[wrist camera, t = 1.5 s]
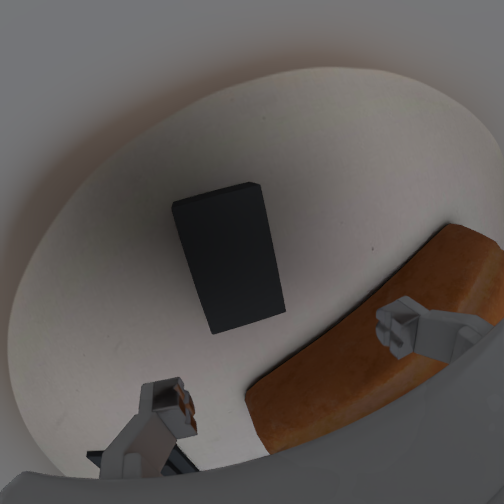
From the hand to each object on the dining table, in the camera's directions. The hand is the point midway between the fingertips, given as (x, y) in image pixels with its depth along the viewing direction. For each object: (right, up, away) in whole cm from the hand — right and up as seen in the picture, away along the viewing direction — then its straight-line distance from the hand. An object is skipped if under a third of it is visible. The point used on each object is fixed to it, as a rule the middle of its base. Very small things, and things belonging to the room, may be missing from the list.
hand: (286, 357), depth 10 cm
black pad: (-3, +4, +12) cm, 13 cm away
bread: (+13, -6, +20) cm, 24 cm away
